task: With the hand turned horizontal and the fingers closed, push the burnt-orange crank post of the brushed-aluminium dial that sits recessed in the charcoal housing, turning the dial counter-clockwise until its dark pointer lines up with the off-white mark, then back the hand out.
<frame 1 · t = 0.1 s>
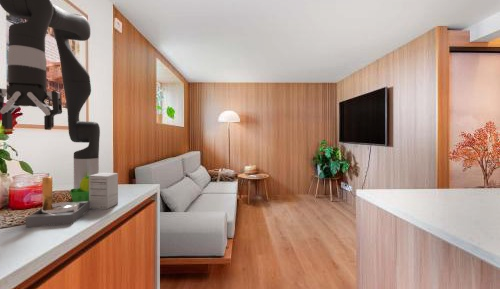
hand: (28, 129, 65), 29 cm above the cabinet, tool pointing down, fingers open, 8 cm apart
housing: (61, 217, 82), on the cabinet
fruit basket: (87, 202, 101), on the cabinet
dial: (60, 193, 82), point 8 cm above the cabinet, hinge at -40.0°
supplement box: (104, 206, 96), on the cabinet
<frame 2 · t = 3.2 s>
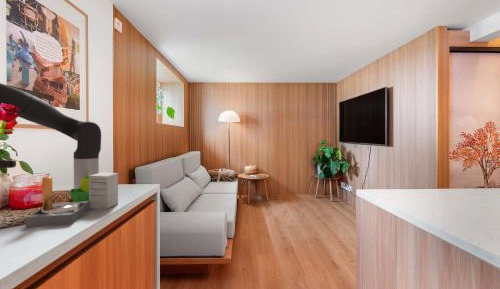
hand: (14, 163, 75), 18 cm above the cabinet, tool horizontal, fingers closed
nothing on the cabinet moved.
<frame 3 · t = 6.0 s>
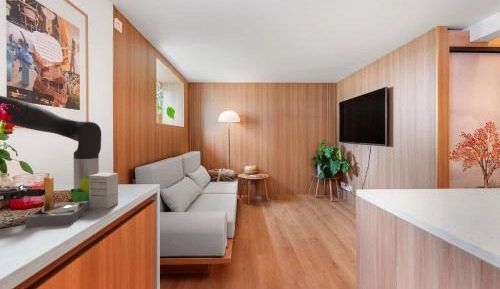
hand: (43, 192, 77), 9 cm above the cabinet, tool horizontal, fingers closed
dial: (60, 193, 82), point 8 cm above the cabinet, hinge at -30.7°, touching gripper
everything else where it was.
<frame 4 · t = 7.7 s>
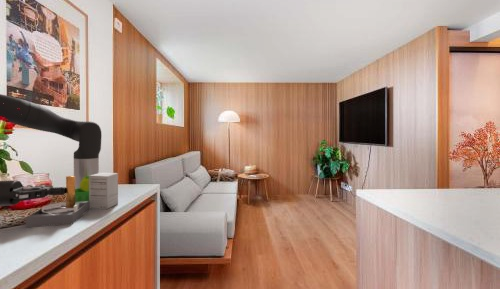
hand: (65, 190, 80), 9 cm above the cabinet, tool horizontal, fingers closed
dial: (61, 193, 82), point 8 cm above the cabinet, hinge at 58.6°, touching gripper
everything else where it was.
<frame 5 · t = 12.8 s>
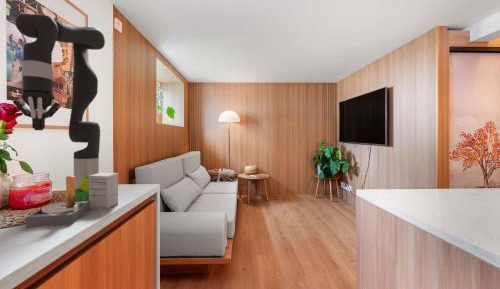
hand: (38, 130, 81), 29 cm above the cabinet, tool pointing down, fingers closed
dial: (61, 193, 82), point 8 cm above the cabinet, hinge at 58.7°
everything else where it was.
at the end: dial at +59° (first picture: -40°); supplement box moved 0.2 cm from its start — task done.
